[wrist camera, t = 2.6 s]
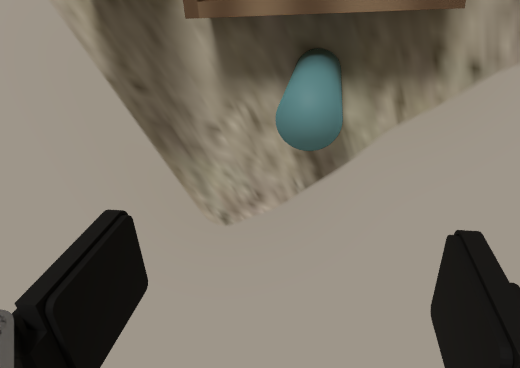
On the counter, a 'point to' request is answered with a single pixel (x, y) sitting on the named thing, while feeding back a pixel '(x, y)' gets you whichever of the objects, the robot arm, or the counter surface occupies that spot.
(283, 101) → the peg
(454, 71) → the counter surface
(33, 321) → the robot arm
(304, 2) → the box
